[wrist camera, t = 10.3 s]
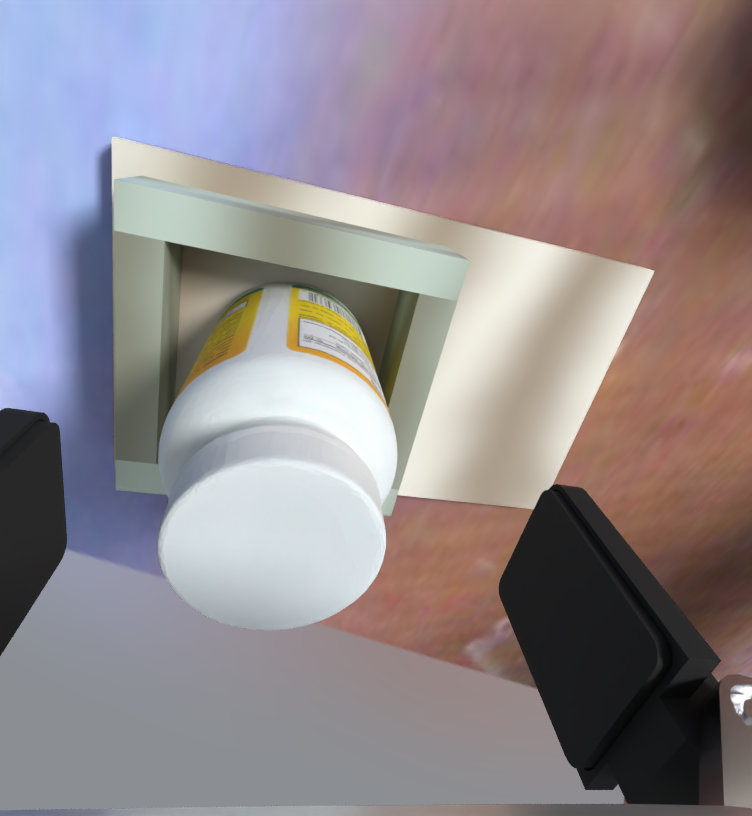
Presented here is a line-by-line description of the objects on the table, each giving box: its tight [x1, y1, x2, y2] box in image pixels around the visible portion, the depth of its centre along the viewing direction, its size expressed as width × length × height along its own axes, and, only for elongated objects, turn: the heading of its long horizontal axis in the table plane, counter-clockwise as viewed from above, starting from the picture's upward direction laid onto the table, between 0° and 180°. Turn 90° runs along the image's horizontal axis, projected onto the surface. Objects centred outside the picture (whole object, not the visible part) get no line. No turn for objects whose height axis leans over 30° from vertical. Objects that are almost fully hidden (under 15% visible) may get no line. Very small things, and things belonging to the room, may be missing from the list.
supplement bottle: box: [157, 282, 397, 630], centre depth 13 cm, size 5×5×10 cm
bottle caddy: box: [112, 137, 654, 516], centre depth 17 cm, size 18×11×3 cm, turn 77°
